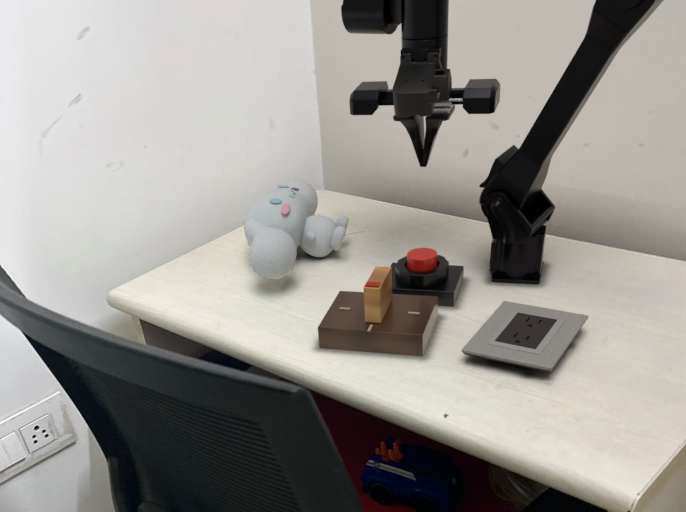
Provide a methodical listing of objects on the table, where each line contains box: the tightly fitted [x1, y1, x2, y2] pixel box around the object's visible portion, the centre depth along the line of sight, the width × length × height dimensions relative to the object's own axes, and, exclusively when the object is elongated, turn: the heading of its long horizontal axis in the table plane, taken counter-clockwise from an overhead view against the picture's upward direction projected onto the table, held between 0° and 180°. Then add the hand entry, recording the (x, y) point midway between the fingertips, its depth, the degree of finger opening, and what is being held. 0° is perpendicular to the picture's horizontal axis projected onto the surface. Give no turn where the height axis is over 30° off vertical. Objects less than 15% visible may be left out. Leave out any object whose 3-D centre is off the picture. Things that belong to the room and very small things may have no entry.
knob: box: [363, 265, 392, 323], centre depth 94 cm, size 6×2×5 cm, turn 162°
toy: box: [243, 179, 349, 280], centre depth 116 cm, size 30×10×15 cm
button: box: [406, 247, 438, 272], centre depth 102 cm, size 4×4×2 cm
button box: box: [389, 254, 465, 308], centre depth 104 cm, size 10×8×4 cm
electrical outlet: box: [461, 300, 589, 373], centre depth 91 cm, size 13×10×2 cm
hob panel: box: [317, 290, 439, 357], centre depth 97 cm, size 13×10×3 cm
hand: (423, 166), depth 105 cm, fingers closed
